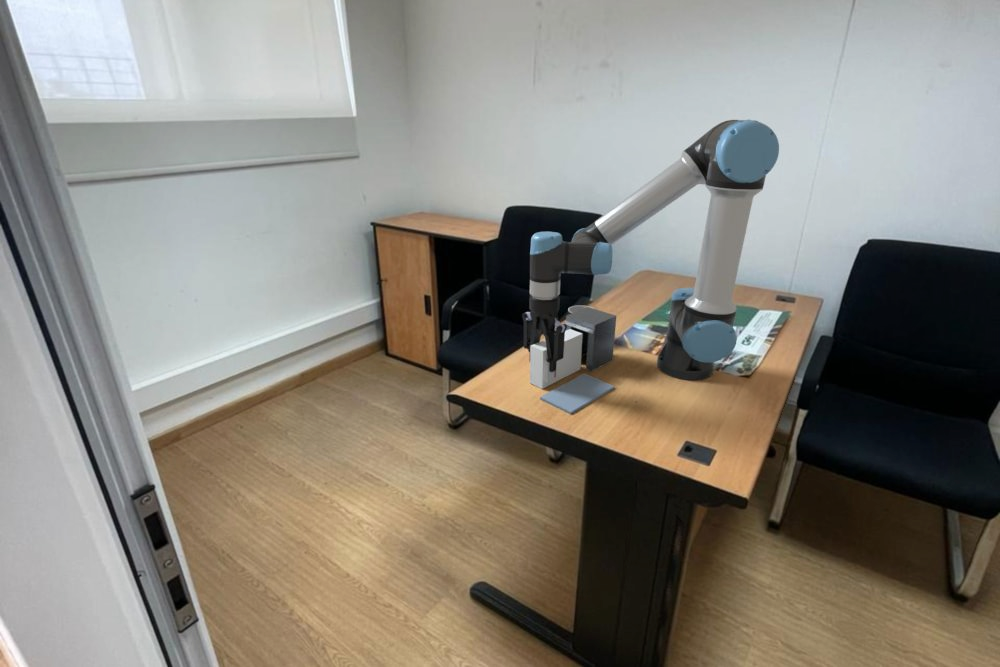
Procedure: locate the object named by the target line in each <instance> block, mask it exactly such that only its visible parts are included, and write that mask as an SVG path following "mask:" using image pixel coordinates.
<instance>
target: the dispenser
mask: <svg viewBox="0 0 1000 667" xmlns="http://www.w3.org/2000/svg"><path fill="white" fill-rule="evenodd" d="M593 308H594V307H592V308H589V307H587V308H584V309H582V310H579V311H577V312H574V313H572V314H569V315H568V314H567V315H565V320H564V324H566V325H567V328H566V330H569V329H571V330H574V331H577V332H580V333H582V334H583V336H582V352H581V357H584V356H585V355H586V363H585V364H586V365H585V370H588V371H590V372H593V371H596V370H597V369H599V368H601V367H602V366H604V365H606V364H608V363H610V362H612V361H613V359H614V349H615V348H614V347H615V339H616V338H615V336H616V326H617V324H616V323H617V315H615V314H612V313H609V312H606V311H602V310H599V309H596V308H594V309H593Z"/></svg>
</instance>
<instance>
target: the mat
mask: <svg viewBox="0 0 1000 667" xmlns="http://www.w3.org/2000/svg"><path fill="white" fill-rule="evenodd" d="M614 389H615V386H614V385H613V384H610V383H608V382H605V381H603V380H600V379H598V378H596V377H593V376H590V375H588V374H586V373H582V374H581V375H579V376H577V377H575V378H572V379H571V380H570V381H568V382H566V383H564V384H562V385H560V386H558V387H556V388H554V389H552V390H550V391H548V392H547V393H545V394H543V395H541V396H539V400H541V401H543V402H545V403H547V404H549V405H551V406H553V407H555V408H557V409H559V410H561V411H564V412H566V413H567V414H569V415H572V414H573V413H575V412H577V411H579V410H580V409H582V408H584V407H586V406H587V405H590V403H592V402H594V401H596V400H597V399H599V398H601V397H602V396H604V395H606V394H607V393H609V392H610V391H611V392H612V390H614Z"/></svg>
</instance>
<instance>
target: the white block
mask: <svg viewBox="0 0 1000 667" xmlns="http://www.w3.org/2000/svg"><path fill="white" fill-rule="evenodd" d="M582 336H583V334H582V333H580V332H577V331H574V330H571V329H569V330H566V331H565V338H564V355H563V359H561V360H558V361H557V363H556V371H554V380H553V381H551V382H549V383H545V368H546V360H547V359H548V354H547V347H546V340H545V339H542V340H540V342H538V343H536V344H533V345H531V346H530V353H529V358H530V361H529V384H531V385H534V386H535V387H537V388H539V389H542V390H543V389H544V388H547V387H549V386H551V385H553V384H555V383H556V382H558V381H560V380H562V379H564V378H566V377H568V376H570V375H572V374H575V373H576V372H579V371H580V370H581V368H582V367H581V365H582V356H581V352H582Z"/></svg>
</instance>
